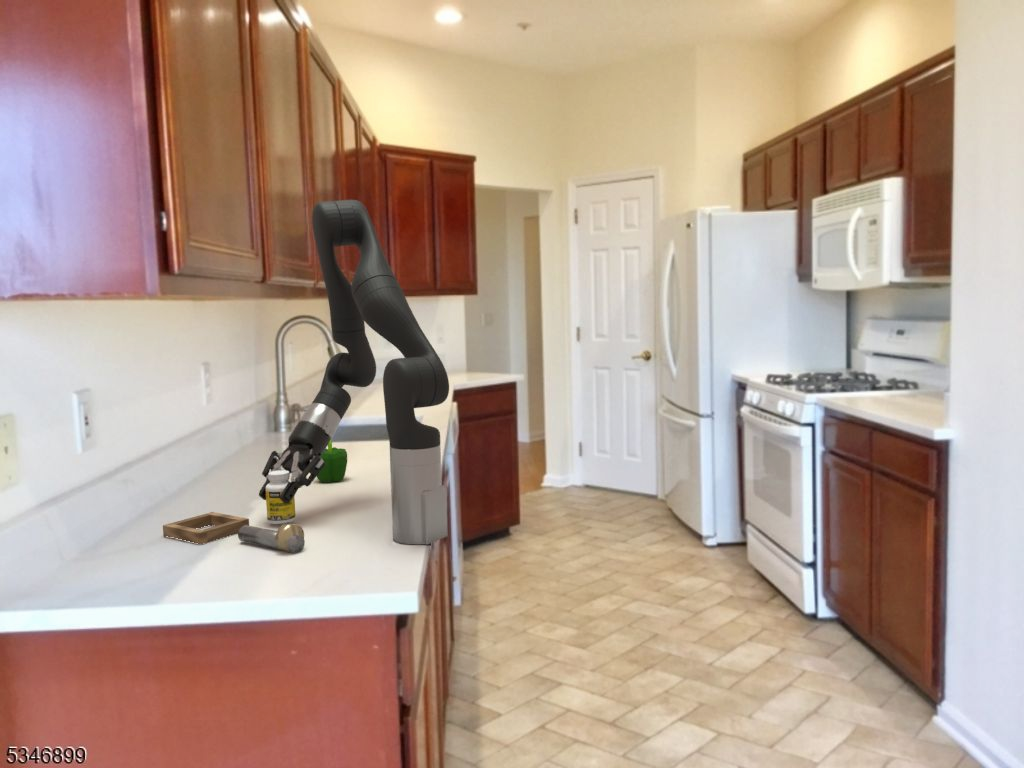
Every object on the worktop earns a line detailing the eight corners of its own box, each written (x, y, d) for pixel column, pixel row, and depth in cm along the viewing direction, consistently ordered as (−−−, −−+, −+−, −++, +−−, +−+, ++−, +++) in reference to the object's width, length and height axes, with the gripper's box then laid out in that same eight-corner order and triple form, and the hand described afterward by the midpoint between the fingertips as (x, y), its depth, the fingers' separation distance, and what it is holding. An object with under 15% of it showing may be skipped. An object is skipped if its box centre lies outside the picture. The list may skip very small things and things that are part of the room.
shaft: (308, 548, 139) (307, 522, 138) (288, 556, 135) (286, 529, 134) (255, 537, 146) (254, 512, 146) (234, 544, 142) (232, 518, 142)
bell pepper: (340, 485, 190) (338, 444, 189) (308, 484, 191) (306, 443, 190) (353, 477, 198) (352, 438, 197) (323, 476, 199) (321, 438, 198)
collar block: (249, 529, 152) (248, 518, 152) (200, 544, 143) (199, 533, 142) (212, 522, 158) (212, 511, 158) (163, 536, 148) (162, 525, 148)
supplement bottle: (267, 525, 152) (263, 476, 151) (268, 518, 157) (264, 470, 156) (295, 522, 153) (292, 473, 152) (296, 516, 158) (292, 468, 158)
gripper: (280, 417, 163) (236, 485, 155) (330, 420, 156) (287, 492, 147) (301, 438, 168) (259, 505, 159) (350, 443, 161) (309, 513, 152)
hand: (273, 499), depth 153 cm, fingers closed on supplement bottle, 5 cm apart
